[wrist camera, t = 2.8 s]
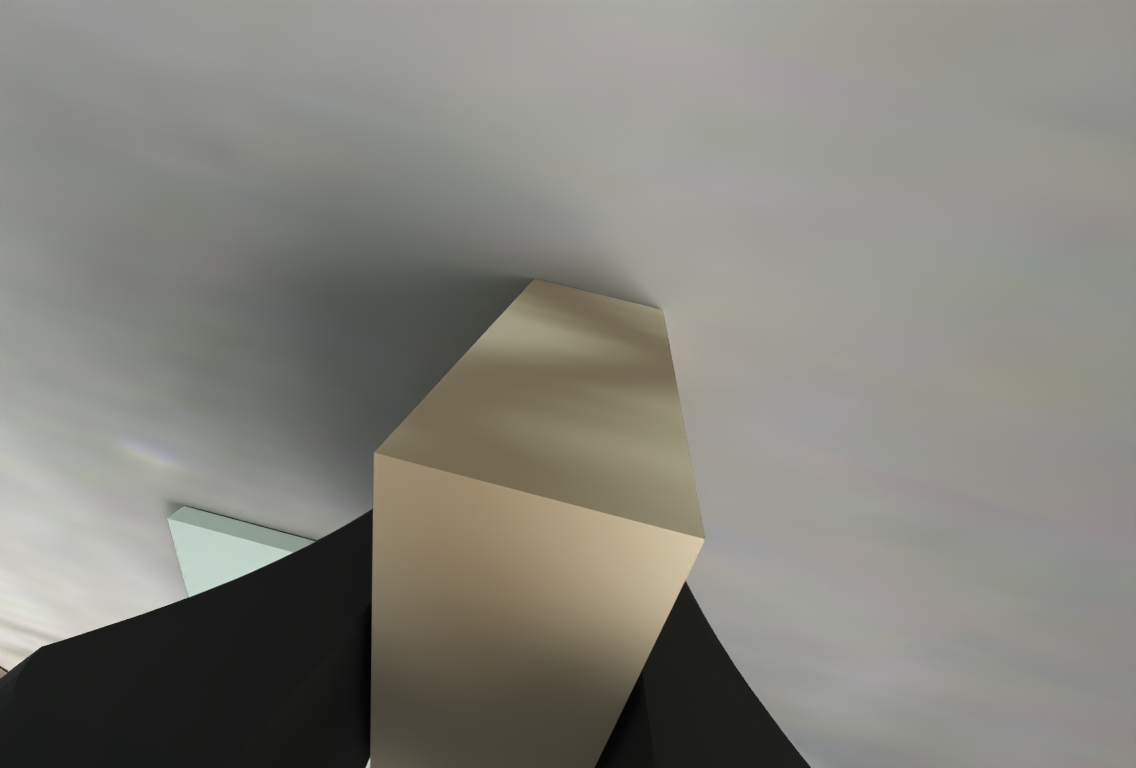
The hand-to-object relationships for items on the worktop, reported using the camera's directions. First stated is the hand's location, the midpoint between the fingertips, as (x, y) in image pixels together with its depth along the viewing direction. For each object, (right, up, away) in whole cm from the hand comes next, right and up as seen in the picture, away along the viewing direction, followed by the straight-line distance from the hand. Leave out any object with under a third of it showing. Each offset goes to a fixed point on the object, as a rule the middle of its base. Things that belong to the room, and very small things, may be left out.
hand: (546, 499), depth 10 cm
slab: (0, +1, +2) cm, 2 cm away
